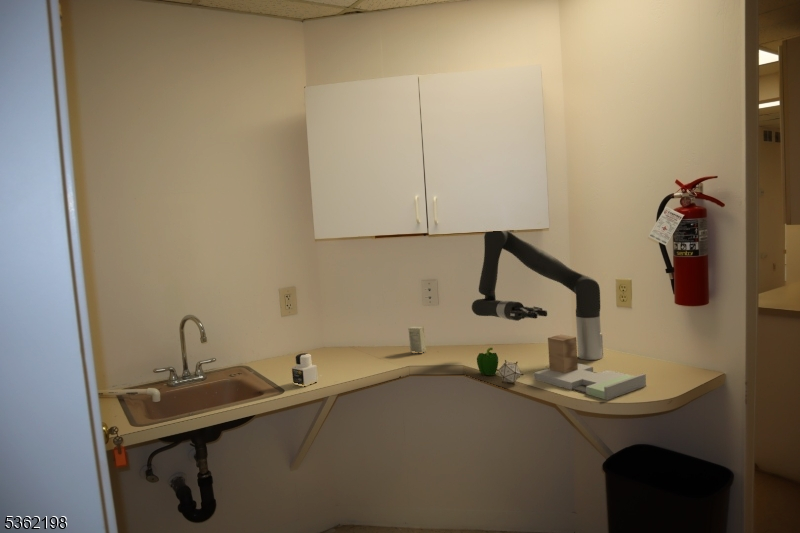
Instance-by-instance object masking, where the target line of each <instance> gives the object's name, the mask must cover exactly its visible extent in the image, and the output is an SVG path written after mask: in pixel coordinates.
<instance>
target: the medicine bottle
mask: <svg viewBox="0 0 800 533" xmlns="http://www.w3.org/2000/svg"><path fill="white" fill-rule="evenodd" d="M291 373H292V383H293V382H294V383H298V384H302V385H305V384H308V383H310V382H313V381H316V380H318V381H319V378H318V366H317V365H316V364H313V363H312V355H311V354H310V353H308V352H304V353H299V354H297V355H296V356H295V366H292V368H291Z"/></svg>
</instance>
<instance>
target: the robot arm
mask: <svg viewBox="0 0 800 533" xmlns="http://www.w3.org/2000/svg"><path fill="white" fill-rule="evenodd" d="M483 238H484V243H483V244H484V254H483V263H482V269H481V273H480V278H479V285H478V292H479V293H480V294H481V295H483V296H484V298H479V299H475V300H474V301H473V302H472V304H471V311H472V312H473V313H474V314H475V315H476V316H480V317H482V316H483V317H495V318H501V319H503V320H504V319H505V320H509V321H510V320H511V321H521V320H524V319H538V317H547V316H548V311H547V310H545V309H544V310H543V308H542V307H537V306H533V307H530V306H524V305H523V303H522V302H519V301H513V300H499V299H497V300H496V287H497V280H498V270H499V269H498V268H499V262H500V256H501V254H502V252H503V250H504V251H507V252H509V253H510V254H511V255H513V256H514V257H515V258H516V259H517V260H519V262H520V263H521V264H523V265H524V266H525V267H527V268H528V269H530V270H532V271H533V272H535V273H537V274H539V275H540V276H542V277H545V278H547V279H549V280H553V281H555V282H556V283H560V284H561V285H562V286H565V287H566V288H567V289H568V290H569V291H571V292H572V293H574V295H575V306H576V307H575V320H576V322H575V323H576V325H575V326H576V344H577V359H581V360H587V361H588V360H589V361H595V360H600V359H602V358H603V357H604V345H603V344H604V343H603V333H601V290H600V289H601V288H600V285H599V283H598V282H597V281H596V280H595V279H593V277H590V276H588V275H585V274H582V273H581V272H578V271H576V270H574V269H572V268H570V267H569V266H567V265H566V264H565V263H564V262H562V261H560V260H559V259H558V258H556V257H555V256H553V255H552V254H550V253H548V252H547V251H545V250H543V249H542V248H540V247H538V246H536V245H533V244H532V243H529V242H527V241H525V240H523V239H521V238H519V236H517V235H515V234H513V232H511V231H509V230H508V231H493V232H486V231H485V233H484V236H483Z"/></svg>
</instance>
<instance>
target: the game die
mask: <svg viewBox="0 0 800 533" xmlns="http://www.w3.org/2000/svg"><path fill="white" fill-rule="evenodd" d="M518 362H519V361H518V360H517V361H516V362H509V361H507V360H506V359H504V363H503V364H502V365H501V367H499V369H498V368H497V371H496V372H498V373H499V375H500V377H501V380H502V381H501V383H502V384H503V383H504V382H505V383H511V384H513V385H514V386H515V385H516V384H515V383H516V381H517V380H519V378H520V376H524V373H521V370H520V367H519V366H518Z"/></svg>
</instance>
